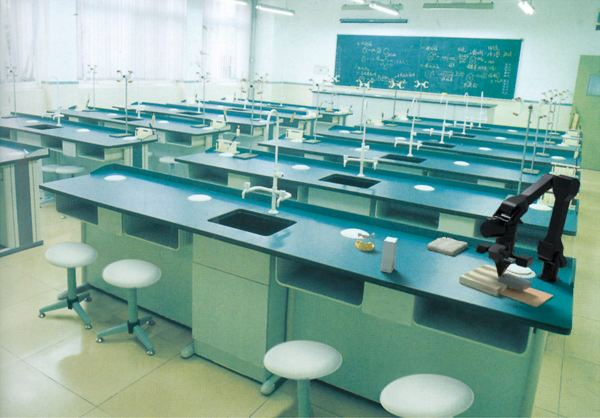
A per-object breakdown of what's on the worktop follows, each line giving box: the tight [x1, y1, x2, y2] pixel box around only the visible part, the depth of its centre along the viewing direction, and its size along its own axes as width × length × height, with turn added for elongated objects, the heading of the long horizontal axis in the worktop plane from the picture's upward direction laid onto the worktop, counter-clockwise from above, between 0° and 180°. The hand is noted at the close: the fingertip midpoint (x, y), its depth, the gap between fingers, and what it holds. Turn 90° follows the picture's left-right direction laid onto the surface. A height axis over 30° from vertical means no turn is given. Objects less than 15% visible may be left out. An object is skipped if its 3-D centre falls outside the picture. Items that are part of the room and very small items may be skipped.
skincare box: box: [379, 236, 399, 274], centre depth 186 cm, size 6×4×12 cm
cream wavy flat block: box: [458, 264, 523, 297], centre depth 181 cm, size 20×14×2 cm
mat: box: [499, 287, 554, 308], centre depth 172 cm, size 14×12×1 cm
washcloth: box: [426, 236, 468, 257], centre depth 216 cm, size 12×18×3 cm, turn 142°
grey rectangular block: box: [498, 273, 532, 291], centre depth 174 cm, size 6×9×2 cm, turn 41°
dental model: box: [354, 232, 376, 252], centre depth 209 cm, size 8×7×7 cm
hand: (499, 277), depth 179 cm, fingers closed
